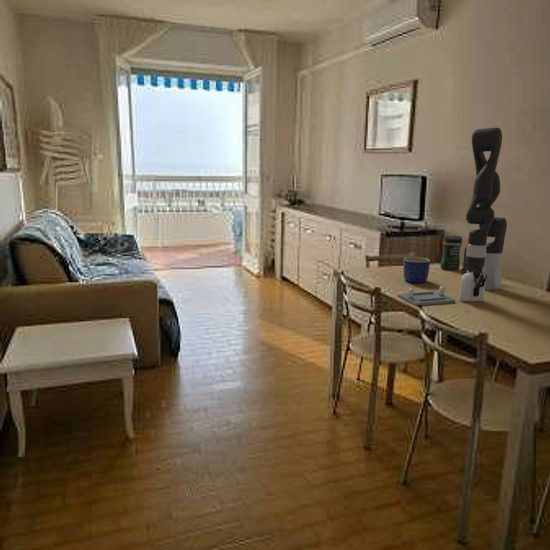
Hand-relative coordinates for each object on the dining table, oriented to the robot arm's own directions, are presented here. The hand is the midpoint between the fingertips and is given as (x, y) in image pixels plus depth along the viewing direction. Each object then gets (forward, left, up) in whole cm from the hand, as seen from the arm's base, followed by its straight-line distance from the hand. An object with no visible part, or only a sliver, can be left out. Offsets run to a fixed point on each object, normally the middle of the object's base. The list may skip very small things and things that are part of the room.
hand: (471, 294), depth 205 cm
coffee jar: (-28, -55, -3) cm, 62 cm away
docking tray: (+18, -6, -3) cm, 19 cm away
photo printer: (0, 0, -3) cm, 3 cm away
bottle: (-26, -36, -3) cm, 45 cm away
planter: (+5, -36, -3) cm, 36 cm away
